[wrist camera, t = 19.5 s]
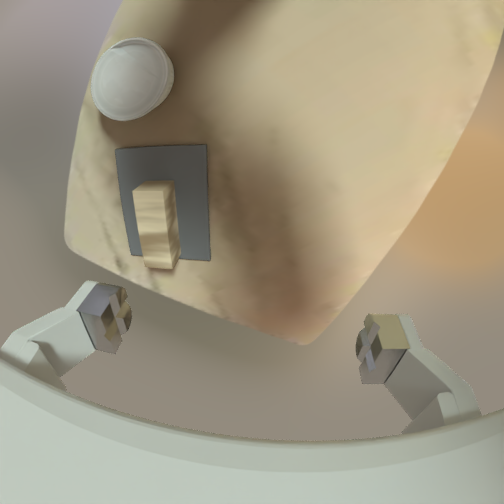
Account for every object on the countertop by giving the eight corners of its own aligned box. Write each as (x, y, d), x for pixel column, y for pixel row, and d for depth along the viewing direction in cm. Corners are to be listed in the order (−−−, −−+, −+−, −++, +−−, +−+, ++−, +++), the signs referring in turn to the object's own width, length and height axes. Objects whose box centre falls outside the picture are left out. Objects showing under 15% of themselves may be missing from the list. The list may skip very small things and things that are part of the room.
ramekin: (187, 41, 29) (173, 34, 24) (177, 118, 35) (163, 122, 30) (114, 46, 29) (94, 42, 24) (108, 117, 35) (88, 122, 30)
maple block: (172, 269, 41) (162, 190, 35) (145, 266, 41) (132, 191, 35) (181, 253, 45) (174, 180, 39) (155, 251, 45) (145, 180, 39)
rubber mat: (116, 149, 37) (114, 149, 37) (206, 144, 36) (205, 145, 36) (132, 253, 46) (131, 254, 46) (210, 259, 45) (210, 260, 45)
